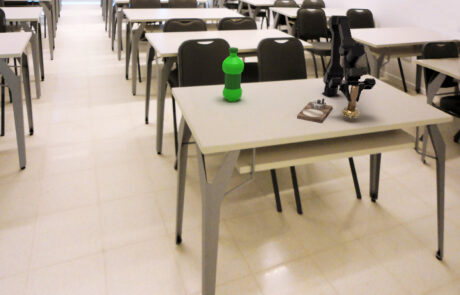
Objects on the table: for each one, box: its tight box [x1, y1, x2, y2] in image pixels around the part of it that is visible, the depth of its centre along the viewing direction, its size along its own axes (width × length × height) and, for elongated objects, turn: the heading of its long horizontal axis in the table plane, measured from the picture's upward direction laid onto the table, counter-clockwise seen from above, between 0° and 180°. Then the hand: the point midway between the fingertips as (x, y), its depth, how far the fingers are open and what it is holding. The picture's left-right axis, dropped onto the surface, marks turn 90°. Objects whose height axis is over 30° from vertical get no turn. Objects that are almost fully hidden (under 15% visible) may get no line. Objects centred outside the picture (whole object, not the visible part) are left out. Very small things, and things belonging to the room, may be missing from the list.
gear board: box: [296, 98, 333, 124], centre depth 168 cm, size 20×11×6 cm, turn 153°
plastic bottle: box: [221, 46, 245, 102], centre depth 178 cm, size 10×10×25 cm
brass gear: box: [341, 85, 360, 119], centre depth 159 cm, size 7×7×13 cm
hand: (353, 101), depth 158 cm, fingers closed on brass gear, 3 cm apart
